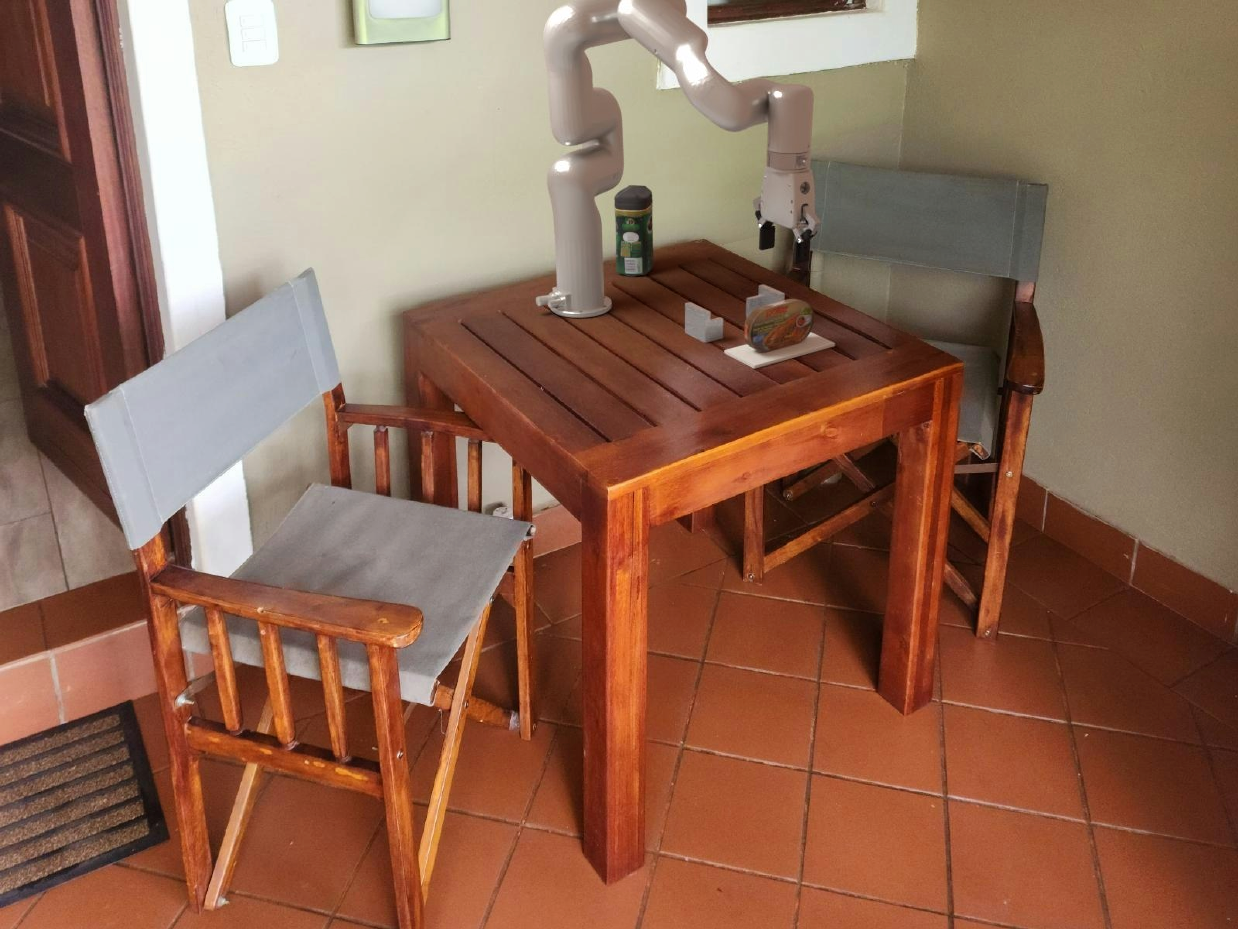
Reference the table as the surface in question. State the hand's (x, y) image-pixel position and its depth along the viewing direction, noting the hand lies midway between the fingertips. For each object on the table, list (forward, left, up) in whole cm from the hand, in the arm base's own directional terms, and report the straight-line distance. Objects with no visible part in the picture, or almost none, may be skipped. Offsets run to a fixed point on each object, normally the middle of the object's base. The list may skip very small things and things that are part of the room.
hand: (783, 255), depth 211 cm
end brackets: (0, +14, -18) cm, 23 cm away
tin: (0, 0, -18) cm, 18 cm away
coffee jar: (+3, +55, -18) cm, 58 cm away
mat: (0, 0, -18) cm, 18 cm away
